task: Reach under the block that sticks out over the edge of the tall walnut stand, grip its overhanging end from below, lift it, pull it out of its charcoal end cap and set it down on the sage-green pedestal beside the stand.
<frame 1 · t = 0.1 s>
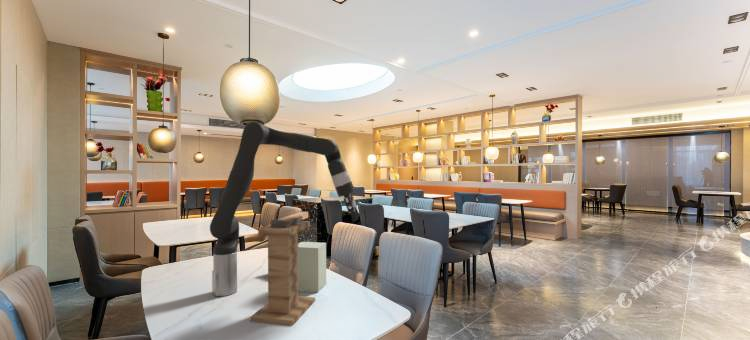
hand: (356, 219, 137), 32 cm above the table, tool tilted 20°, fingers open, 8 cm apart
pedestal: (309, 287, 143), on the table
stand: (287, 308, 122), on the table
block: (293, 221, 128), point 32 cm above the table, touching stand
digital camera: (279, 275, 160), on the table
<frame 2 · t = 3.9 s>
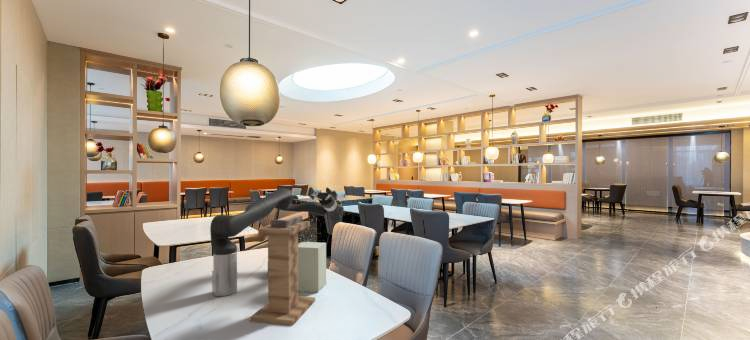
hand: (318, 189, 156), 43 cm above the table, tool pointing upward, fingers open, 8 cm apart
nothing on the table moved.
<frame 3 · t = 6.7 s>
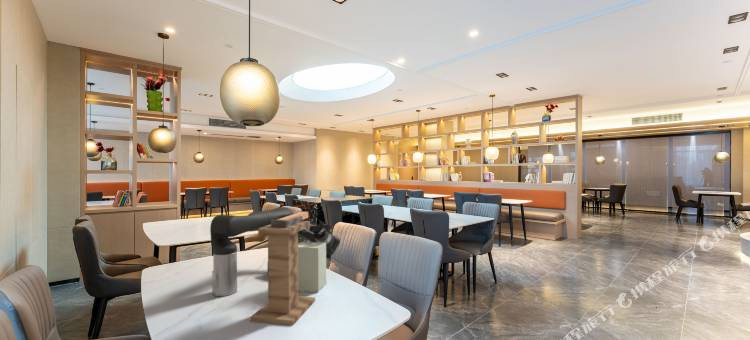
hand: (310, 222, 143), 29 cm above the table, tool pointing upward, fingers open, 8 cm apart
nothing on the table moved.
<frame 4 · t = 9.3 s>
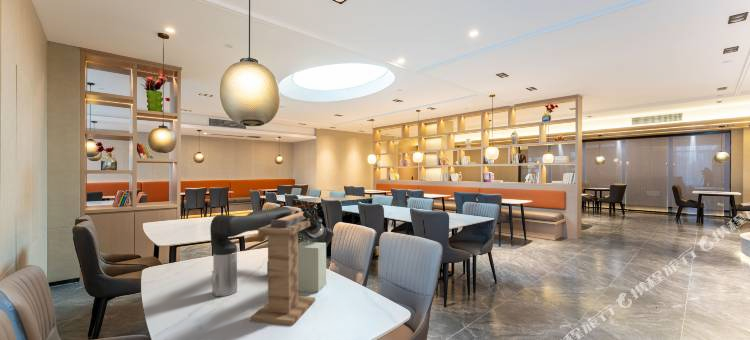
hand: (300, 212, 133), 35 cm above the table, tool pointing upward, fingers closed on block, 3 cm apart
block: (293, 221, 127), point 32 cm above the table, touching gripper, stand
everything else where it was.
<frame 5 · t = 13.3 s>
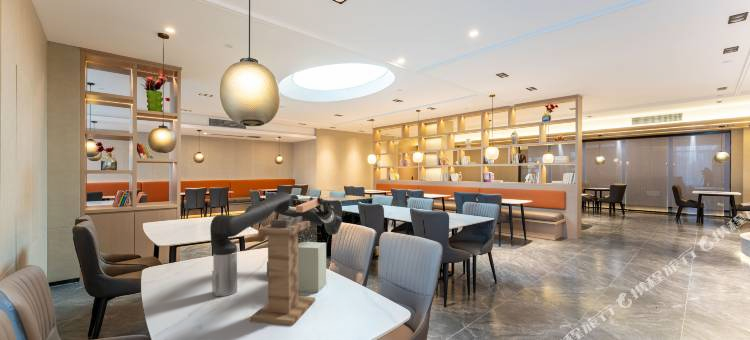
hand: (314, 199, 148), 39 cm above the table, tool pointing upward, fingers closed on block, 3 cm apart
block: (309, 207, 143), point 36 cm above the table, touching gripper
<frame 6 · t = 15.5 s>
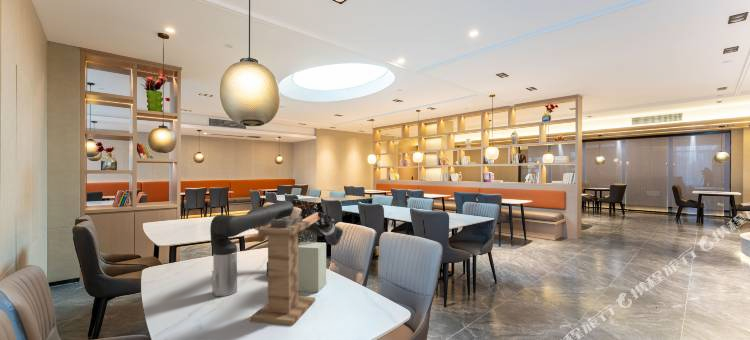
hand: (315, 213, 150), 32 cm above the table, tool pointing upward, fingers closed on block, 3 cm apart
block: (310, 222, 144), point 29 cm above the table, touching gripper
when the fingers open (26 cm above the table, at t = 17.3 s): block drops 3 cm, resting on pedestal.
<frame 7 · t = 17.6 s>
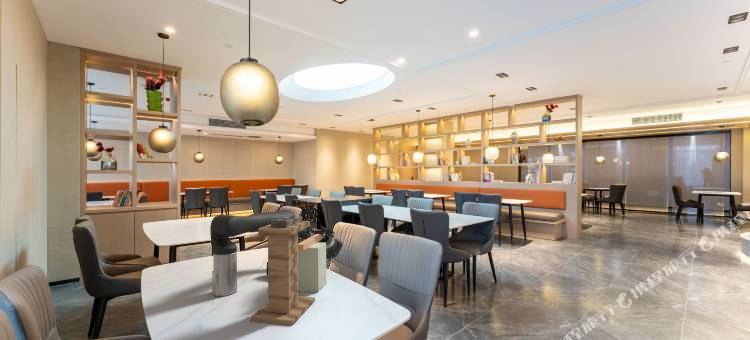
hand: (314, 227, 149), 26 cm above the table, tool pointing upward, fingers open, 5 cm apart
block: (310, 244, 144), point 19 cm above the table, touching pedestal
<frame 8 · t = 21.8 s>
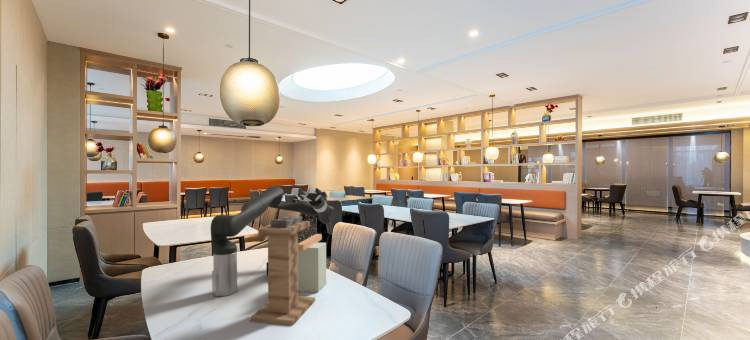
hand: (307, 189, 157), 43 cm above the table, tool pointing upward, fingers open, 8 cm apart
at the end: block inside the target area (0.3 cm from its centre), point 19.0 cm above the table; block touching pedestal; the gripper is holding nothing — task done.
